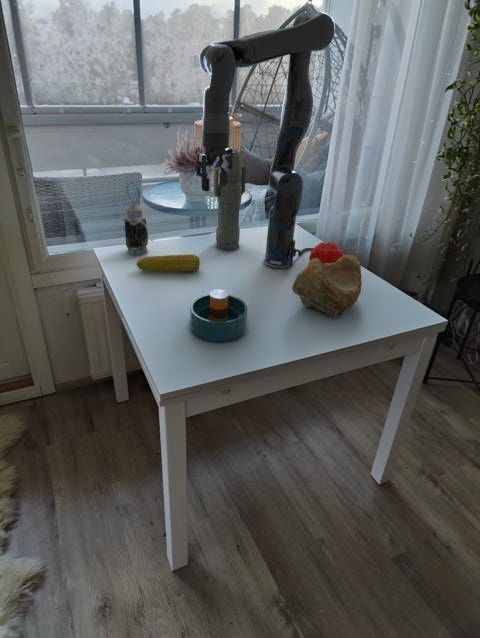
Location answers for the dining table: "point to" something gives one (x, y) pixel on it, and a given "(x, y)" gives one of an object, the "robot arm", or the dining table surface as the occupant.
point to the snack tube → (218, 305)
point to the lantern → (135, 229)
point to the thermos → (229, 204)
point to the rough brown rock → (330, 285)
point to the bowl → (216, 328)
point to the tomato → (326, 253)
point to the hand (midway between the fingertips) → (214, 188)
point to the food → (169, 263)
